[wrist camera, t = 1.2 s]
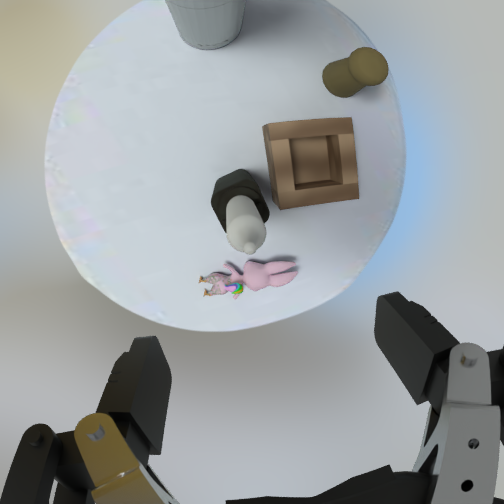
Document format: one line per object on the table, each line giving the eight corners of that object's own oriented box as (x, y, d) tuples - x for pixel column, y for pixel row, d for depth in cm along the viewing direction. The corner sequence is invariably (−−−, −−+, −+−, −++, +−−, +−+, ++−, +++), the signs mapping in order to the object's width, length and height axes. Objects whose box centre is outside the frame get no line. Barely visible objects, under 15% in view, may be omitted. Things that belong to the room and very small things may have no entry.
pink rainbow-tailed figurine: (210, 296, 49) (299, 280, 47) (203, 316, 43) (302, 300, 41) (199, 263, 47) (292, 244, 44) (189, 280, 41) (294, 261, 39)
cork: (337, 104, 38) (370, 94, 28) (314, 71, 36) (341, 51, 26) (365, 87, 37) (404, 76, 27) (344, 55, 35) (377, 35, 25)
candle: (212, 181, 41) (194, 232, 18) (244, 166, 40) (271, 196, 17) (227, 212, 43) (231, 298, 19) (259, 197, 42) (302, 266, 19)
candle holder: (262, 126, 39) (268, 123, 33) (335, 120, 39) (351, 117, 33) (272, 200, 43) (280, 209, 37) (342, 191, 43) (359, 198, 37)
